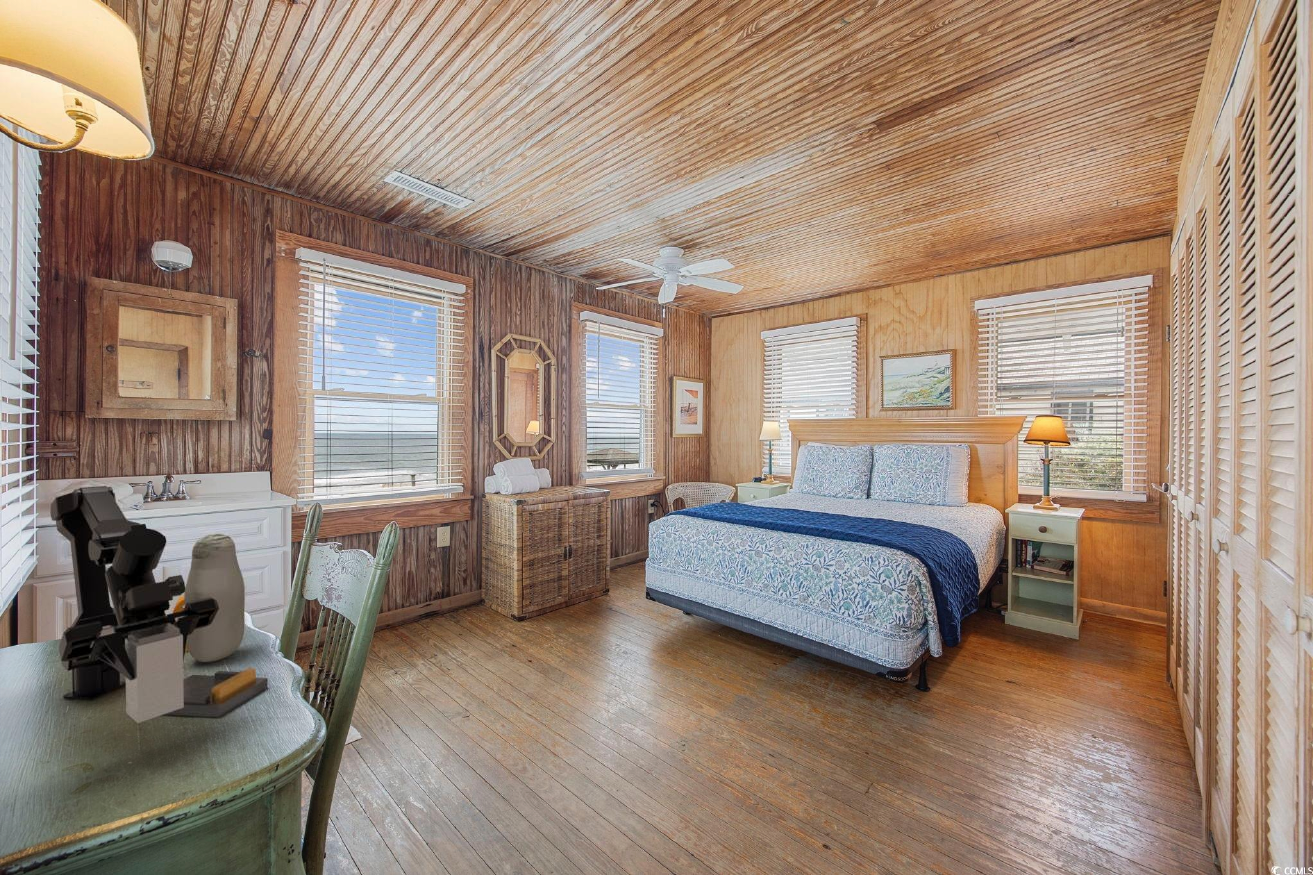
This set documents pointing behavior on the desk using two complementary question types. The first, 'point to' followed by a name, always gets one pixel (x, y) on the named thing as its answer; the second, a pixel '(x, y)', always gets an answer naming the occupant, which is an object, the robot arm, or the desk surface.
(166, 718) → the desk surface
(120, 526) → the robot arm
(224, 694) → the grey base plate
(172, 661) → the block
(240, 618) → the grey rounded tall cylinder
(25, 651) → the desk surface
